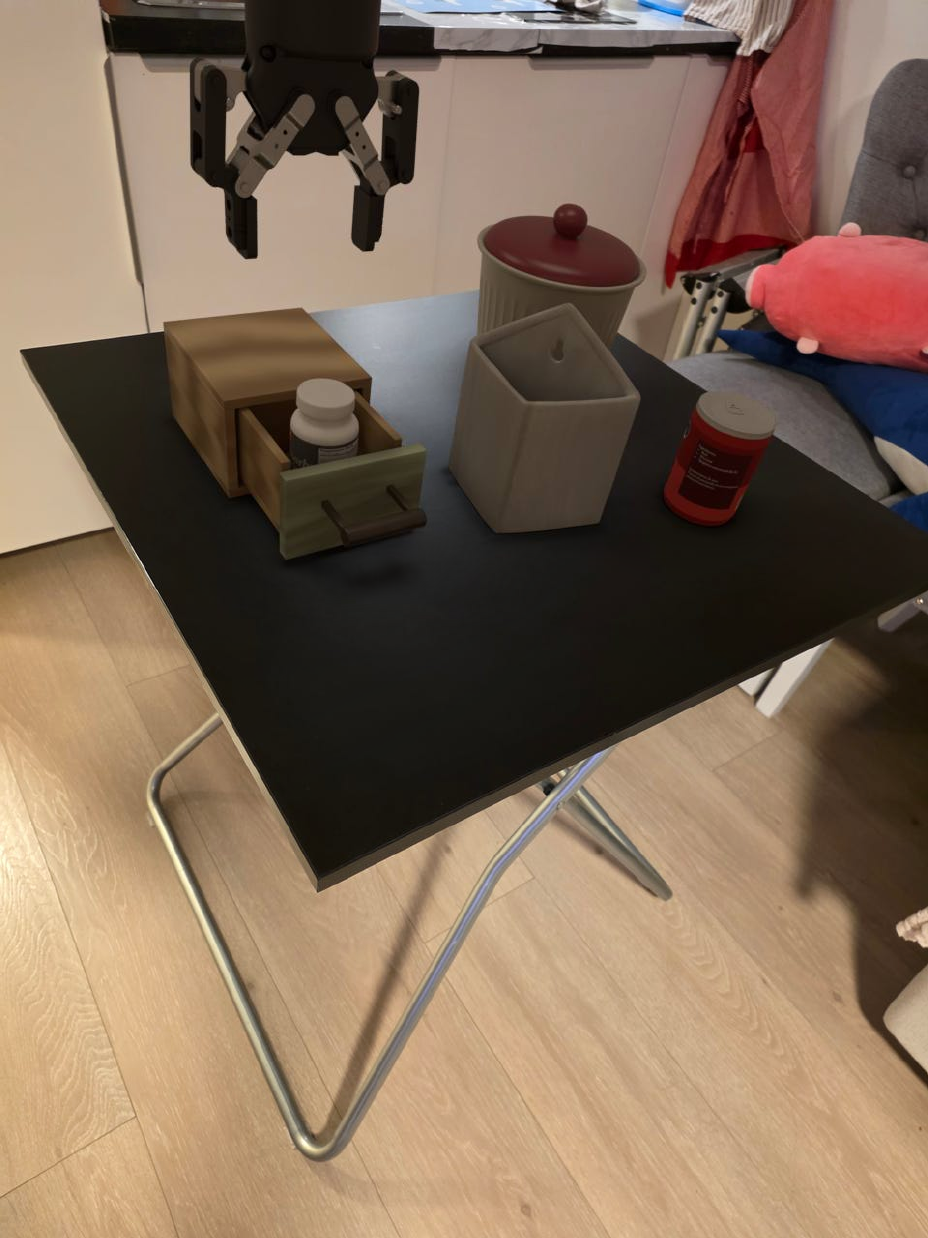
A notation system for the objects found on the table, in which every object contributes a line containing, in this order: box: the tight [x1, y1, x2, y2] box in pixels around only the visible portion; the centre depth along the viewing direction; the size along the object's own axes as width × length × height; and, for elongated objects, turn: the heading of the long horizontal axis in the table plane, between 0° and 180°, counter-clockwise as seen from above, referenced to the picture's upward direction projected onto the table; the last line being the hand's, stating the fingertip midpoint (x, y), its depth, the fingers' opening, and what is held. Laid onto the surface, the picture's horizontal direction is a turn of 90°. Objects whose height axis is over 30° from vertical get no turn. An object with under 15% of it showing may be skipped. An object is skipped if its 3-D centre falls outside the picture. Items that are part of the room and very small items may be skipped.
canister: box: [476, 203, 648, 361], centre depth 88 cm, size 18×18×21 cm
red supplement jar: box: [663, 390, 778, 527], centre depth 80 cm, size 8×8×11 cm
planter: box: [447, 303, 641, 534], centre depth 71 cm, size 16×8×19 cm, turn 67°
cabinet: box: [162, 307, 373, 499], centre depth 76 cm, size 15×14×10 cm
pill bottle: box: [290, 379, 359, 470], centre depth 68 cm, size 6×6×10 cm
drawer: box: [235, 389, 428, 561], centre depth 69 cm, size 19×13×8 cm, turn 33°
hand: (306, 251), depth 54 cm, fingers open, 8 cm apart
